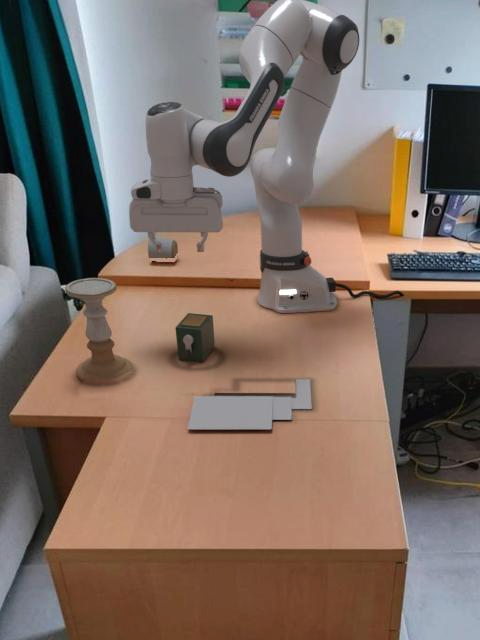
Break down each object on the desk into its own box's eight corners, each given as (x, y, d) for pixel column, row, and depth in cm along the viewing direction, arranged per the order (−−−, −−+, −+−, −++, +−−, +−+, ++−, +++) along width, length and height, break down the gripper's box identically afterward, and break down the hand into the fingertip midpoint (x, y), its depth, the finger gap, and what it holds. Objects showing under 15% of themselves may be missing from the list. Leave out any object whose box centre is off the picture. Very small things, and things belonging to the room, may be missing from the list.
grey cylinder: (175, 266, 225) (173, 241, 220) (148, 265, 224) (146, 240, 220) (181, 256, 233) (179, 232, 229) (155, 255, 233) (153, 231, 229)
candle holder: (143, 365, 167) (131, 279, 155) (116, 388, 157) (102, 299, 145) (95, 357, 169) (80, 273, 158) (66, 380, 159) (47, 291, 148)
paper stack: (199, 379, 162) (198, 376, 161) (310, 379, 164) (310, 376, 163) (187, 432, 143) (187, 429, 142) (313, 432, 145) (313, 429, 144)
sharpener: (191, 343, 174) (188, 311, 170) (215, 346, 174) (213, 314, 169) (174, 365, 165) (170, 331, 160) (199, 367, 164) (196, 334, 159)
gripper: (222, 184, 159) (226, 247, 167) (128, 183, 158) (137, 246, 166) (220, 191, 154) (225, 255, 162) (123, 190, 152) (132, 255, 160)
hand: (180, 251), depth 164 cm, fingers open, 8 cm apart
